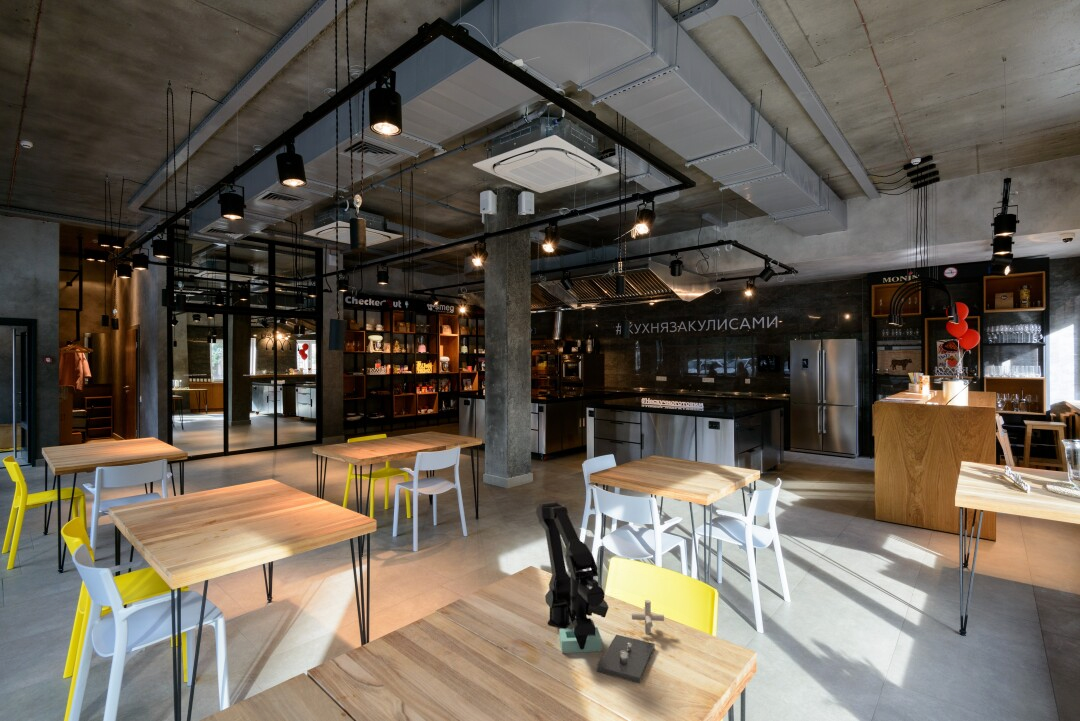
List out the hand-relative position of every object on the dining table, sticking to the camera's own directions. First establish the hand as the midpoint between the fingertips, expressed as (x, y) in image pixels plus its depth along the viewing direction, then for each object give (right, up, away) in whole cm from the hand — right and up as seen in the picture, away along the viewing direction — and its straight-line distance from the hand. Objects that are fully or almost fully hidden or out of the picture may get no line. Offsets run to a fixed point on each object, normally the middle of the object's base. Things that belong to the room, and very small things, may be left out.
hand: (580, 642), depth 155 cm
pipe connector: (+22, -1, +7) cm, 23 cm away
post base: (+13, -1, -7) cm, 15 cm away
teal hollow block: (0, -1, 0) cm, 1 cm away
